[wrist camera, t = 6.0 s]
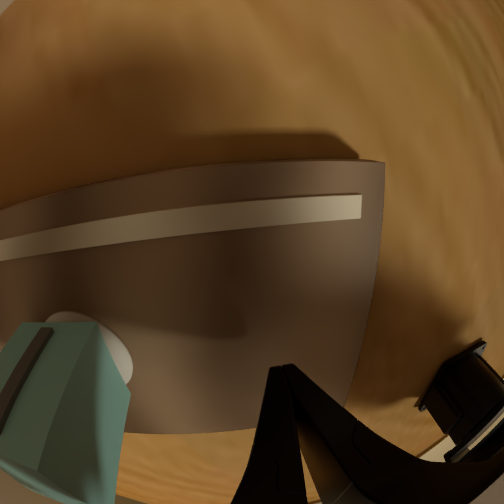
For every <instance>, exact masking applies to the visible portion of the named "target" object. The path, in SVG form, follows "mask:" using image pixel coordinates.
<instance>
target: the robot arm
mask: <svg viewBox="0 0 504 504" xmlns="http://www.w3.org/2000/svg"><path fill="white" fill-rule="evenodd" d="M486 345H487V343H486V342H485V341H482V342H481V343H479V344H477V345H476V346H474V347H472V348H470V349H469V350H467V351H465V352H463V353H462V354H460V355H458V356H456V357H454V358H452V359H450V360H449V361H447V362H445V363H444V364H443V365H442V367H441V368H440V370H439V372H438V374H437V376H436V378H435V380H434V382H433V384H432V385H431V387H430V389H429V391H428V392H427V394H426V396H425V398H424V399H423V401H422V403H421V404H420V406H419V407H418V409H419V411H420V412H422V411H424V410H426V409H427V410H428V411H429V412H430V414H431V415H432V417H433V418H434V420H435V421H436V423H437V424H438V426H439V427H440V429H441V430H442V432H443V433H444V434H449V436H450V437H451V439H452V440H453V442H454V443H455V445H456V446H455V447H454V448H453V449H452V450H450V451H448V452H447V453H446V454H444V459H445V461H446V462H430V461H426V460H422V459H420V458H417V457H415V456H413V455H411V454H409V453H408V452H406V451H404V450H402V449H400V448H399V447H397V446H395V445H393V444H392V443H390V442H388V441H387V440H385V439H383V438H382V437H380V436H379V435H377V434H376V433H374V432H373V431H372V430H370V429H369V428H368V427H366V426H365V425H364V424H363V423H362V422H360V421H359V420H357V418H355V417H354V416H353V415H352V414H351V413H349V412H348V411H347V410H346V409H345V408H343V407H342V406H341V405H340V404H339V403H338V402H336V401H335V400H334V399H333V398H332V397H331V396H329V395H328V394H327V393H326V392H325V391H324V390H323V389H321V388H320V387H319V386H318V385H317V384H316V383H315V382H314V381H312V380H311V379H310V378H309V377H308V376H307V375H306V374H305V373H303V372H302V371H301V370H300V369H299V368H298V367H297V366H296V365H295V364H293V363H290V364H284V365H282V366H280V365H278V366H272V367H270V368H269V371H268V377H267V381H266V386H265V391H264V396H263V401H262V405H261V410H260V415H259V419H258V424H257V428H256V433H255V437H254V441H253V445H252V449H251V454H250V457H249V461H248V464H247V467H246V470H245V472H244V475H243V478H242V480H241V482H240V484H239V487H238V489H237V491H236V493H235V495H234V497H233V500H232V502H231V504H308V502H307V497H306V488H305V480H304V473H303V466H302V459H301V453H300V449H301V451H302V454H303V457H304V459H305V462H306V464H307V467H308V469H309V472H310V474H311V477H312V479H313V482H314V484H315V487H316V489H317V492H318V494H319V497H320V499H321V502H322V504H504V418H503V419H502V420H501V421H500V422H499V423H498V424H497V425H496V426H495V428H493V429H492V430H491V432H490V433H489V434H488V435H487V436H485V437H484V438H483V439H482V440H481V441H480V442H479V443H478V444H477V445H476V446H475V447H474V448H472V449H471V450H469V449H468V447H469V446H470V445H471V444H473V443H474V442H475V441H476V440H477V439H478V438H479V437H480V436H481V435H482V434H483V433H484V432H485V431H486V430H487V429H488V428H489V427H490V426H491V425H492V424H493V423H494V422H495V421H496V420H497V419H498V418H499V417H500V416H501V415H502V413H503V412H504V380H503V379H502V378H501V377H500V376H499V375H498V374H497V372H496V371H495V370H494V369H493V368H492V367H491V366H490V365H489V364H488V363H487V362H486V361H485V360H484V359H483V358H482V357H481V355H482V353H483V351H484V349H485V347H486ZM457 444H458V445H457Z"/></svg>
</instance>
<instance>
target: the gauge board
mask: <svg viewBox="0 0 504 504" xmlns="http://www.w3.org/2000/svg"><path fill="white" fill-rule="evenodd" d="M384 187H385V163H384V162H379V161H373V160H365V159H283V160H262V161H246V162H233V163H221V164H211V165H202V166H193V167H185V168H177V169H170V170H163V171H156V172H150V173H144V174H138V175H132V176H126V177H121V178H116V179H111V180H106V181H101V182H96V183H92V184H87V185H83V186H78V187H74V188H70V189H66V190H62V191H58V192H54V193H51V194H47V195H43V196H40V197H36V198H33V199H30V200H26V201H23V202H20V203H17V204H14V205H11V206H8V207H5V208H2V209H0V352H1V350H2V349H3V347H4V346H5V345H6V343H7V342H8V340H9V339H10V338H11V336H12V335H13V334H14V332H15V331H16V330H17V328H18V327H19V326H20V324H21V323H22V322H97V325H98V327H99V330H100V332H101V334H102V337H103V339H104V341H105V343H106V346H107V348H108V350H109V352H110V354H111V356H112V358H113V360H114V363H115V365H116V367H117V369H118V371H119V372H120V374H121V376H122V378H123V380H124V382H125V384H126V386H127V388H128V389H129V391H130V393H131V396H130V401H129V406H128V411H127V416H126V422H125V427H124V432H128V433H145V434H194V433H212V432H224V431H234V430H243V429H250V428H257V424H258V419H259V415H260V410H261V405H262V401H263V396H264V391H265V386H266V381H267V377H268V371H269V368H270V367H272V366H278V365H280V366H282V365H284V364H290V363H293V364H295V365H296V366H297V367H298V368H299V369H300V370H301V371H302V372H303V373H305V374H306V375H307V376H308V377H309V378H310V379H311V380H312V381H314V382H315V383H316V384H317V385H318V386H319V387H320V388H321V389H323V390H324V391H325V392H326V393H327V394H328V395H329V396H331V397H332V398H333V399H334V400H335V401H336V402H338V403H339V404H340V405H341V406H342V407H343V408H344V406H345V403H346V400H347V397H348V393H349V390H350V387H351V384H352V380H353V377H354V373H355V370H356V366H357V363H358V359H359V355H360V351H361V347H362V343H363V339H364V334H365V330H366V325H367V321H368V316H369V311H370V306H371V301H372V295H373V289H374V283H375V277H376V271H377V264H378V256H379V248H380V239H381V230H382V219H383V205H384Z"/></svg>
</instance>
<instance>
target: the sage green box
mask: <svg viewBox="0 0 504 504" xmlns="http://www.w3.org/2000/svg"><path fill="white" fill-rule="evenodd" d="M130 396H131V393H130V391H129V389H128V388H127V386H126V384H125V382H124V380H123V378H122V376H121V374H120V372H119V371H118V369H117V367H116V365H115V363H114V360H113V358H112V356H111V354H110V352H109V350H108V348H107V346H106V343H105V341H104V339H103V337H102V334H101V332H100V330H99V327H98V325H97V322H22V323H21V324H20V326H19V327H18V328H17V330H16V331H15V332H14V334H13V335H12V336H11V338H10V339H9V340H8V342H7V343H6V345H5V346H4V347H3V349H2V350H1V352H0V468H1V469H2V470H3V471H4V472H6V473H7V474H8V475H10V476H11V477H12V478H14V479H15V480H17V481H18V482H19V483H21V484H22V485H24V486H25V487H27V488H28V489H30V490H32V491H34V492H37V493H39V494H41V495H44V496H46V497H49V498H51V499H54V500H57V501H59V502H62V503H65V504H115V492H116V483H117V474H118V466H119V459H120V452H121V445H122V439H123V433H124V427H125V422H126V416H127V411H128V406H129V401H130Z"/></svg>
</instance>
